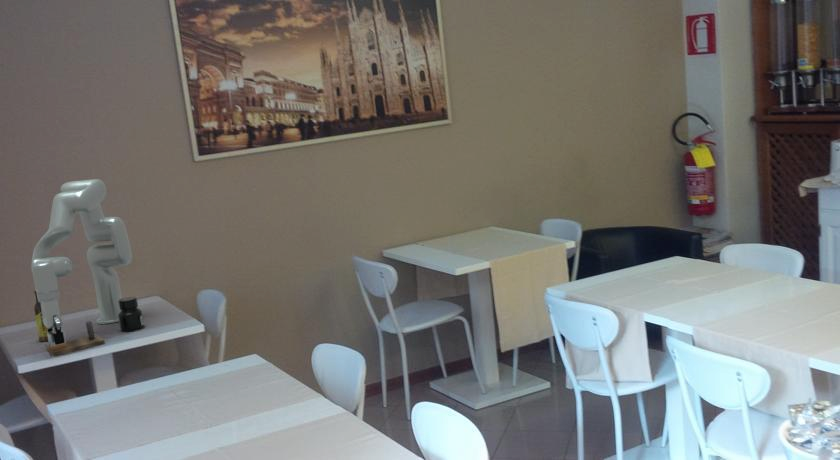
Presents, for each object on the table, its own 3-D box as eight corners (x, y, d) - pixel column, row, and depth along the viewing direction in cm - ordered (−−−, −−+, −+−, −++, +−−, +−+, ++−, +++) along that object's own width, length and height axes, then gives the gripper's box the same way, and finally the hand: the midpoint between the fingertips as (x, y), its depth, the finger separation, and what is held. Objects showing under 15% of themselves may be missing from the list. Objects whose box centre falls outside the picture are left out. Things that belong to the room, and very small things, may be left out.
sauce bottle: (45, 342, 347) (36, 291, 343) (35, 341, 350) (26, 291, 347) (60, 337, 352) (51, 287, 349) (50, 336, 355) (41, 287, 352)
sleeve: (49, 347, 331) (46, 331, 330) (63, 344, 334) (60, 328, 333) (52, 350, 327) (49, 334, 326) (66, 346, 330) (64, 330, 329)
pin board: (96, 338, 344) (92, 317, 342) (104, 343, 334) (101, 322, 332) (46, 350, 334) (42, 329, 333) (53, 356, 324) (49, 334, 323)
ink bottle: (149, 327, 352) (144, 297, 350) (128, 333, 345) (123, 302, 343) (136, 324, 358) (131, 295, 356) (116, 330, 352) (110, 300, 350)
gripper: (32, 294, 332) (41, 339, 335) (42, 301, 318) (51, 348, 321) (54, 290, 336) (62, 334, 339) (64, 296, 322) (73, 342, 325)
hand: (57, 341), depth 330 cm, fingers open, 9 cm apart
